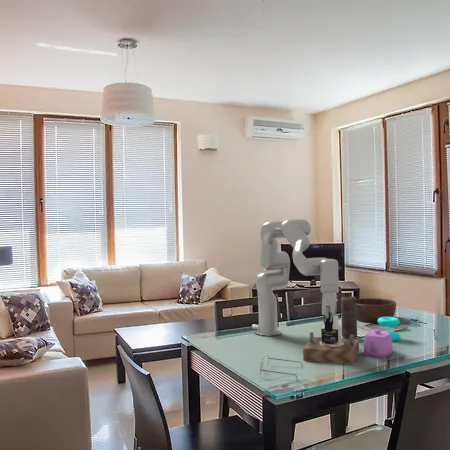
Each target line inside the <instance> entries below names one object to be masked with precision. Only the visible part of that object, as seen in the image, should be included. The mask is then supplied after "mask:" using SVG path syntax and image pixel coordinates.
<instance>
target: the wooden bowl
mask: <svg viewBox="0 0 450 450" xmlns="http://www.w3.org/2000/svg"><path fill="white" fill-rule="evenodd" d="M396 307H397V302H396V301H395V300H392V299H388V298H378V297H377V298H375V297H368V298H362V297H361V298H356V313H357V321H361V322H363V323H364V322H365V323H366V322H367V323H378V319H379V318H380V317H395V315H396V309H397V308H396Z"/></svg>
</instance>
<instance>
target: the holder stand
mask: <svg viewBox="0 0 450 450" xmlns="http://www.w3.org/2000/svg"><path fill="white" fill-rule="evenodd" d="M341 340H342V341H341V343H340V344H339V345H338V346H337V345H323V344H322V338H321V337H320V336H314V332H313V331H310V332H309V341H308V342H307V343H306V344H305V346H304V347H302V355H303V356H302V359H303V360H302V361H306V360H308V361H307V362H309V361H310V362H318V361H321V362H320V363H331V362H334V364H343V363H349V364H348V365H354V364H353V363H355V362H354V361H356V359H357V357H358V355H359V353H360V340H359V339H356V338H354V335H353V334H351V335H350V338H349V339H348V338H341ZM358 352H359V353H358Z"/></svg>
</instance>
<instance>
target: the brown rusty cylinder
mask: <svg viewBox="0 0 450 450" xmlns="http://www.w3.org/2000/svg"><path fill="white" fill-rule="evenodd" d="M356 299H357V297H356V296H346V297H345V296H343V297H341V299H340V310H341V312H340V314H341V315H340V316H341V338H343V339H350V335H351V334H353V335H354V339H356V338H358V320H357V313H356Z"/></svg>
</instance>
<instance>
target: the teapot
mask: <svg viewBox="0 0 450 450" xmlns="http://www.w3.org/2000/svg"><path fill="white" fill-rule="evenodd" d="M385 331H386V330H381V329H377V328H376V329H374V330H370V331H368V332H366V333H365V335H364V339H363V355H364V356H366V355H367V357H373V356H374V357H373V358H381V357H382V358H383V359H386V358H388V357H390V355H391V354H392V353H393V350H394V349H393V341H392V339H391V334H390V332H385ZM382 358H381V359H382Z"/></svg>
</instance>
